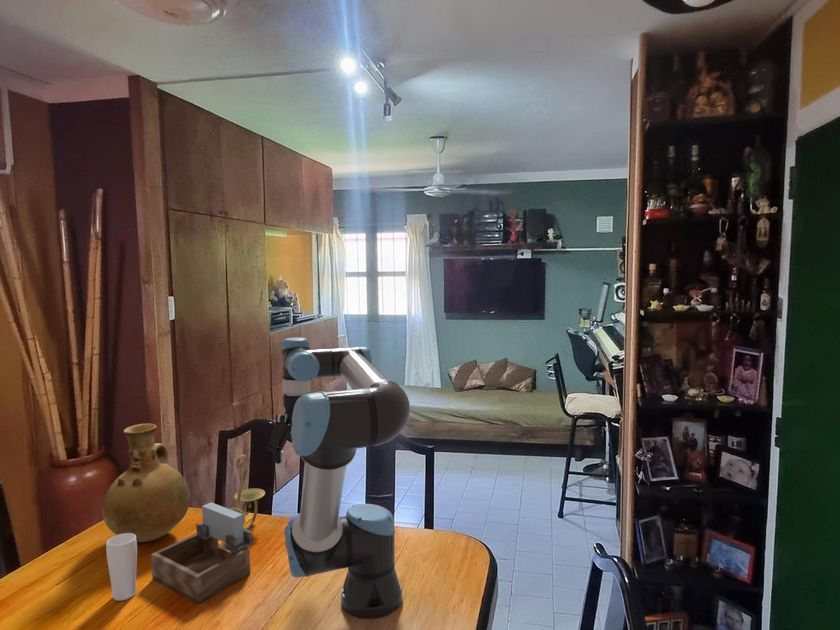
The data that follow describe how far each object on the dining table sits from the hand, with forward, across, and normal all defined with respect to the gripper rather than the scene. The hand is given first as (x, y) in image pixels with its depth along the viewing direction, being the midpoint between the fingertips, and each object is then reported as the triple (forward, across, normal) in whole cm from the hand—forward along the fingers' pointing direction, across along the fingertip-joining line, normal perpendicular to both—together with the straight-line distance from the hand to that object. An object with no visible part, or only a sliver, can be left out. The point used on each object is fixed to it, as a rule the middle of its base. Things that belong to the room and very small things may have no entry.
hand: (298, 466), depth 154 cm
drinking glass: (+27, +38, -24) cm, 52 cm away
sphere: (+27, -8, -9) cm, 29 cm away
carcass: (+27, +21, -15) cm, 37 cm away
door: (+19, +15, -15) cm, 29 cm away
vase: (+27, +18, -47) cm, 57 cm away
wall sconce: (+27, -2, -26) cm, 37 cm away
